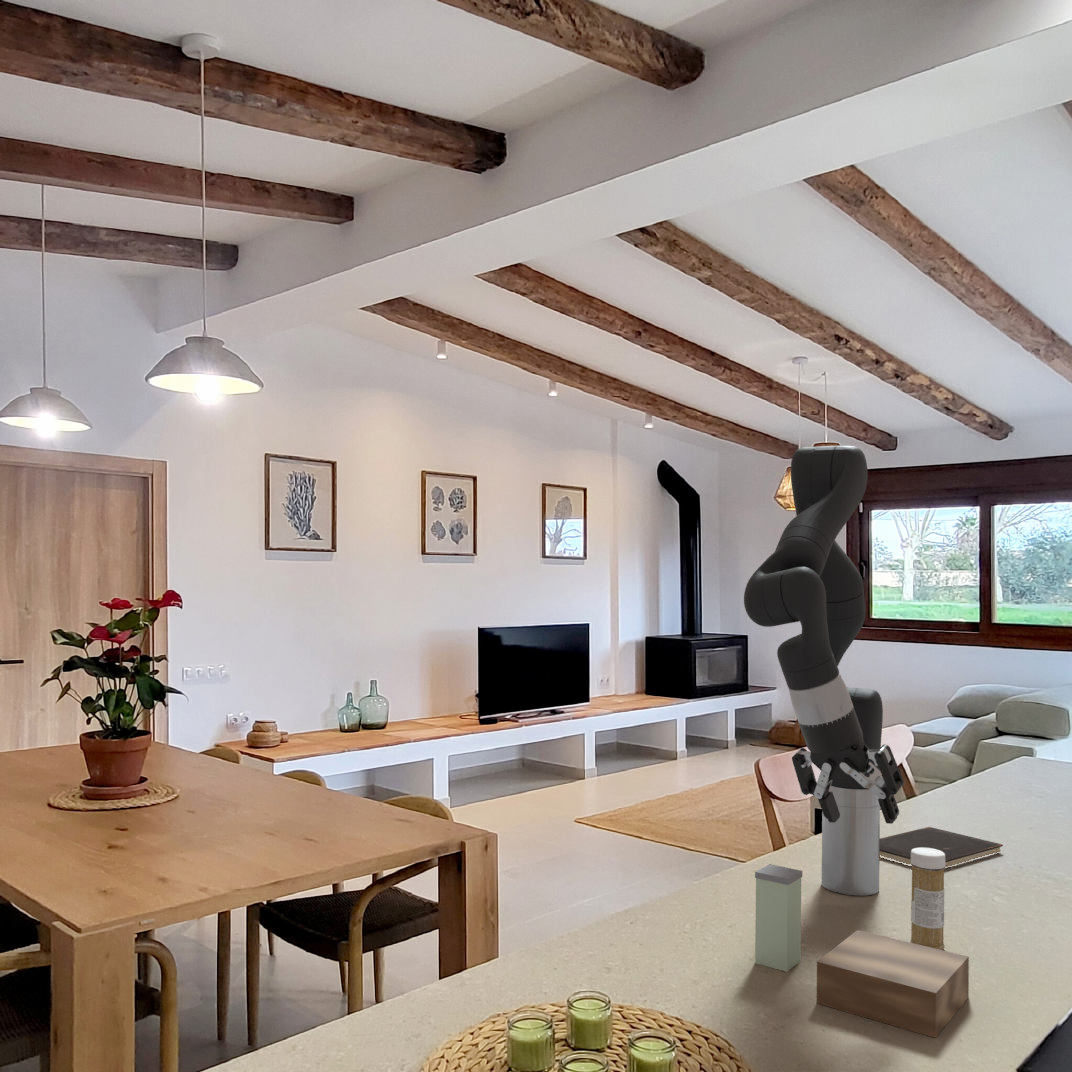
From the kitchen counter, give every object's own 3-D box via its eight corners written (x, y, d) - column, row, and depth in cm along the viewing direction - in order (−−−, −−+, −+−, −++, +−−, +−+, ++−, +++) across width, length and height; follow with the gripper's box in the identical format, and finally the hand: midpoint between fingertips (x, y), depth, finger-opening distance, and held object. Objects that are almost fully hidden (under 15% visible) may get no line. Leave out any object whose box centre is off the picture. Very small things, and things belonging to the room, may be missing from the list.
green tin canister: (768, 952, 137) (769, 864, 138) (801, 961, 134) (802, 870, 135) (754, 963, 133) (755, 871, 134) (787, 972, 130) (788, 879, 131)
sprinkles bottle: (917, 938, 144) (918, 844, 144) (949, 947, 140) (950, 851, 141) (904, 946, 140) (905, 850, 141) (937, 956, 137) (937, 857, 138)
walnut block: (857, 968, 132) (857, 930, 132) (968, 997, 124) (968, 956, 124) (816, 1003, 121) (816, 961, 121) (935, 1037, 113) (936, 993, 113)
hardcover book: (1002, 856, 189) (1002, 844, 189) (933, 876, 175) (933, 863, 175) (926, 837, 202) (926, 825, 202) (856, 854, 188) (856, 842, 188)
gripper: (884, 695, 131) (923, 807, 133) (791, 702, 141) (828, 806, 143) (861, 720, 126) (901, 836, 127) (766, 725, 136) (804, 833, 137)
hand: (862, 820), depth 135 cm, fingers open, 8 cm apart
